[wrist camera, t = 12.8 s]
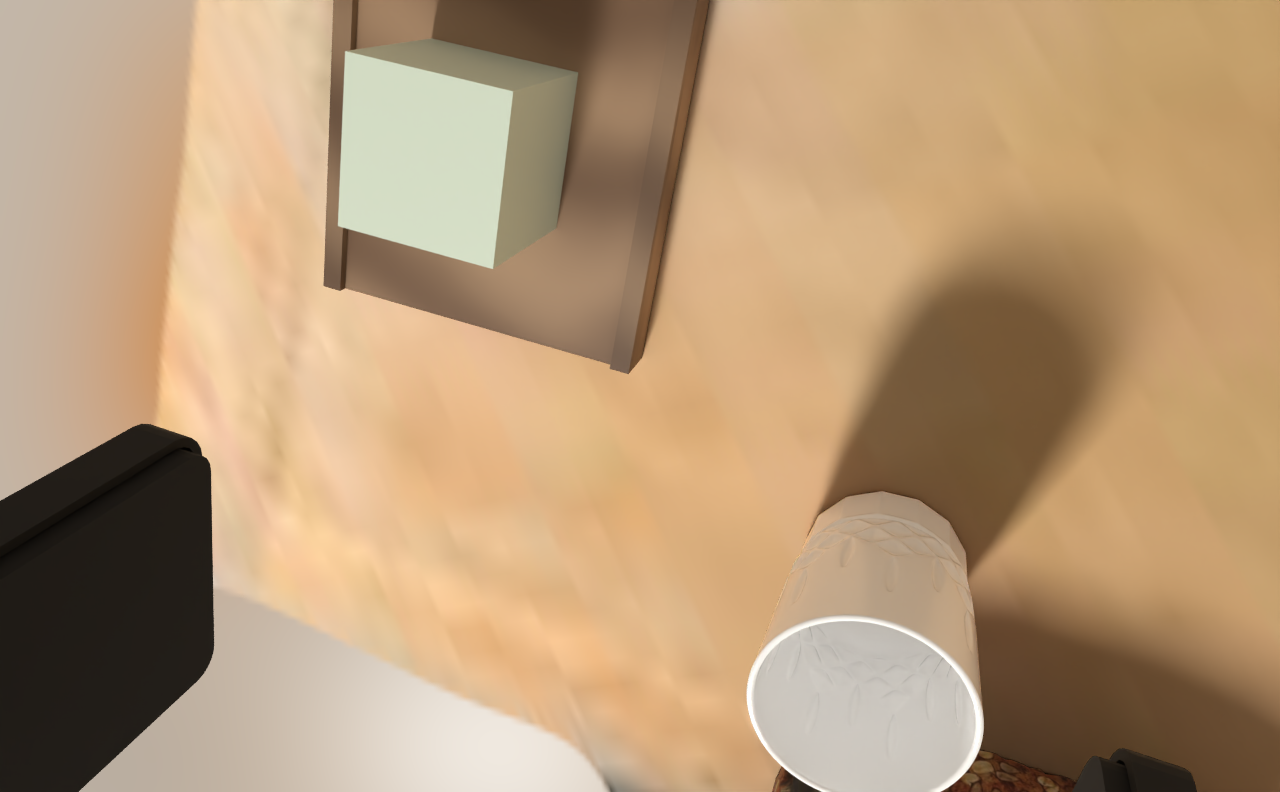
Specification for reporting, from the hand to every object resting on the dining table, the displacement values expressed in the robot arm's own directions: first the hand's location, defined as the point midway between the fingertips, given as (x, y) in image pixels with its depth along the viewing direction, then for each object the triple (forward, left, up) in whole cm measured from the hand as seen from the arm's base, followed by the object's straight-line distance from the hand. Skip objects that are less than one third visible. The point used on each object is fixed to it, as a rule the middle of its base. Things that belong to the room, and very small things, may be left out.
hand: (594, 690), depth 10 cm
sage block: (+2, -14, -29) cm, 32 cm away
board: (+2, -14, -30) cm, 33 cm away
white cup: (+16, +5, -31) cm, 35 cm away
